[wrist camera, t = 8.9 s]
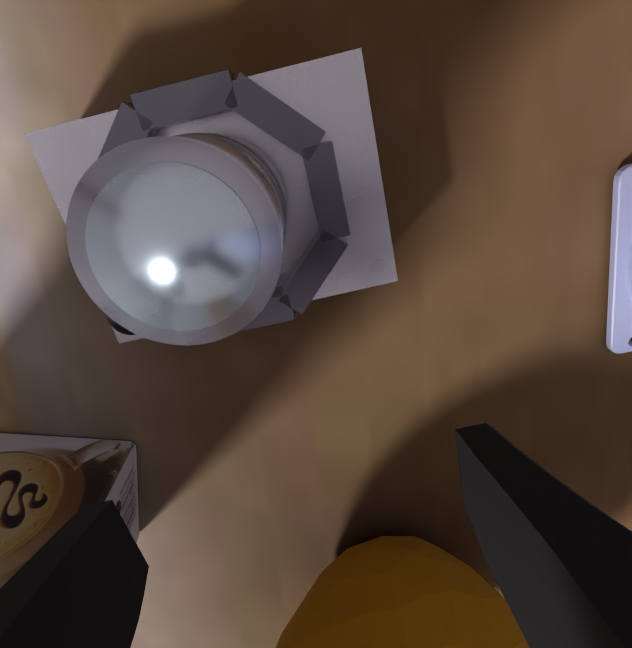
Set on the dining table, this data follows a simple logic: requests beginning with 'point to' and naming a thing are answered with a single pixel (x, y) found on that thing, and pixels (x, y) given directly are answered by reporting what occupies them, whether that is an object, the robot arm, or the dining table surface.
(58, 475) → the coffee box
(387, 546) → the apple
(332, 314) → the dining table surface
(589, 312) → the dining table surface
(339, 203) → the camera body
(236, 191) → the lens
